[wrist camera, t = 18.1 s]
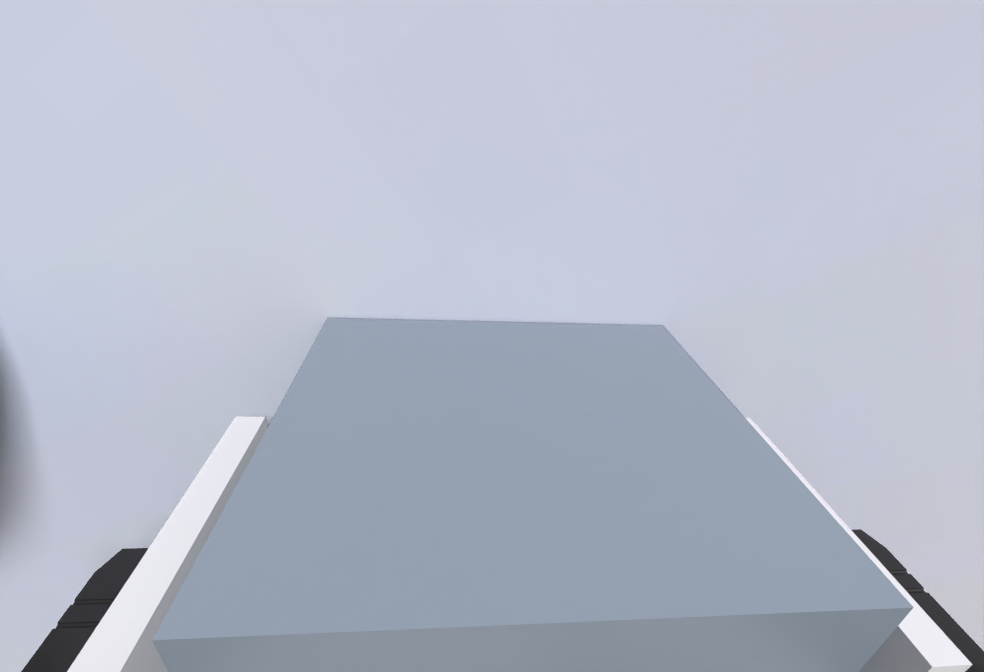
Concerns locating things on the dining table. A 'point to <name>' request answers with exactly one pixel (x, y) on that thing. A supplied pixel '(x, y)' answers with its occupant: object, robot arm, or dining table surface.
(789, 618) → the matte gray-blue box
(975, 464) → the dining table surface
